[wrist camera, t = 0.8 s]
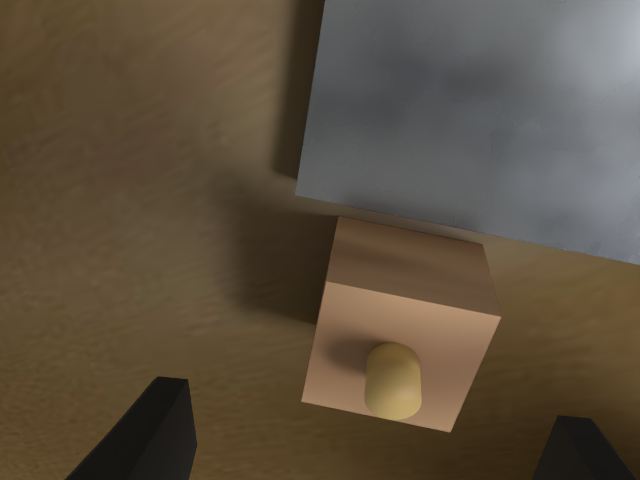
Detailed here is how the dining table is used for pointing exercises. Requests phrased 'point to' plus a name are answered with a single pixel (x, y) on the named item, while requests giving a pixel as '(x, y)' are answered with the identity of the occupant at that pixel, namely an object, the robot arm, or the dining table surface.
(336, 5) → the grey square baseplate
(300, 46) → the dining table surface
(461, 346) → the block
